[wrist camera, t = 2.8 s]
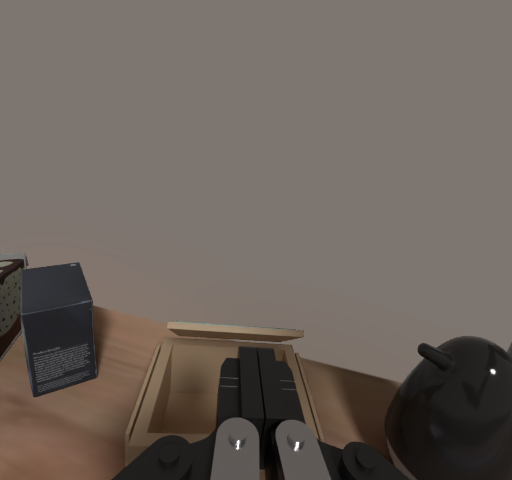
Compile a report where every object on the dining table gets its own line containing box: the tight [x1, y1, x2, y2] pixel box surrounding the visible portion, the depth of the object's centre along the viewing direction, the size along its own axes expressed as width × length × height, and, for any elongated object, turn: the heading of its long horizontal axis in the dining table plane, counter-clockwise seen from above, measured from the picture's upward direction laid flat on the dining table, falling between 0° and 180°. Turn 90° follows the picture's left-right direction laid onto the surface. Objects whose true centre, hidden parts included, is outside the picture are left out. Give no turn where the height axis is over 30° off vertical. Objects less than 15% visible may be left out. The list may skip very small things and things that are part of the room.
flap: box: [167, 322, 304, 342], centre depth 28 cm, size 11×1×9 cm
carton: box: [125, 337, 325, 480], centre depth 28 cm, size 15×12×7 cm
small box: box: [21, 262, 98, 397], centre depth 35 cm, size 11×6×10 cm, turn 36°
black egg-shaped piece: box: [384, 336, 512, 480], centre depth 26 cm, size 10×10×15 cm
